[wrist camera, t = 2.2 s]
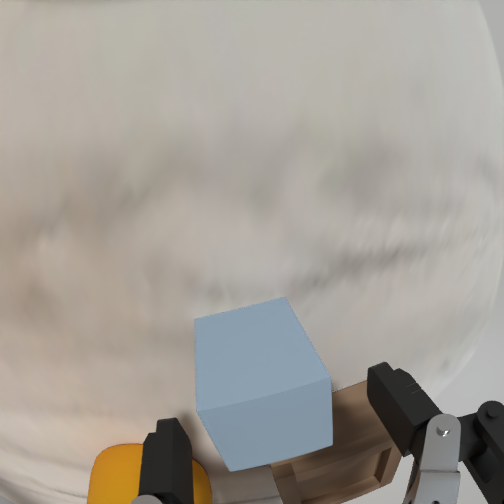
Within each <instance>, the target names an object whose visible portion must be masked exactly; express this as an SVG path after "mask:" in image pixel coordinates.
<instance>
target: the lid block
mask: <svg viewBox="0 0 504 504" xmlns="http://www.w3.org/2000/svg"><path fill="white" fill-rule="evenodd" d="M195 383H196V411H197V413H198V415H199V417H200V419H201V421H202V423H203V425H204V427H205V429H206V430H207V432H208V434H209V436H210V438H211V440H212V442H213V443H214V445H215V447H216V449H217V450H218V452H219V454H220V456H221V457H222V459H223V461H224V463H225V464H226V466H227V468H228V469H229V471H230V472H232V471H238V470H243V469H248V468H253V467H257V466H262V465H266V464H270V463H274V462H278V461H282V460H286V459H289V458H293V457H297V456H300V455H303V454H307V453H310V452H313V451H316V450H319V449H322V448H325V447H328V446H331V445H333V425H332V391H331V376H330V374H329V373H328V371H327V369H326V367H325V366H324V364H323V362H322V360H321V358H320V357H319V355H318V353H317V351H316V350H315V348H314V346H313V344H312V343H311V341H310V339H309V337H308V336H307V334H306V332H305V330H304V329H303V327H302V325H301V323H300V322H299V320H298V318H297V316H296V315H295V313H294V311H293V309H292V308H291V306H290V304H289V302H288V301H287V299H286V297H282V298H278V299H275V300H271V301H267V302H263V303H259V304H255V305H251V306H247V307H243V308H239V309H235V310H231V311H227V312H223V313H219V314H214V315H210V316H206V317H201V318H197V319H195Z"/></svg>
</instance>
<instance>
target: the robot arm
mask: <svg viewBox="0 0 504 504" xmlns="http://www.w3.org/2000/svg"><path fill="white" fill-rule="evenodd" d="M367 397H368V400H369V403H370V405H371V406H372V408H373V409H374V411H375V413H376V414H377V416H378V417H379V419H380V420H381V422H382V424H383V425H384V427H385V428H386V430H387V432H388V433H389V435H390V436H391V438H392V440H393V441H394V443H395V444H396V446H397V448H398V449H399V451H400V453H401V454H402V456H403V457H406V456H408V455H410V454H412V455H413V457H414V458H415V459H414V462H413V467H412V471H411V475H410V479H409V483H408V487H407V491H406V495H405V498H404V501H403V503H402V504H456V503H457V497H458V491H459V485H460V472H459V471H458V470H457V466H458V462H460V461H463V463H464V464H465V466H466V467H467V469H468V471H469V472H470V474H471V475H472V477H473V479H474V480H475V482H476V484H477V485H478V487H479V489H480V490H481V492H482V494H483V495H484V497H485V498H486V500H487V502H488V504H504V405H502V404H501V403H500V402H497V401H487V402H485V403H483V404H482V405H481V406H480V408H479V409H478V411H477V412H476V413H473V414H469V415H466V416H463V417H455V416H453V415H450V414H443V413H442V412H441V411H440V410H439V408H438V407H437V406H436V405H435V404H434V402H433V401H432V400H431V399H430V398H429V396H428V395H427V394H426V393H425V392H424V390H423V389H421V387H420V386H419V384H418V383H416V381H415V380H414V379H413V377H412V376H411V375H410V374H409V373H407V372H405V371H404V370H402V369H400V368H398V369H396V370H393V369H392V368H391V367H390V366H389V364H388V363H387V362H382V363H380V364H377V365H375V366H372V367H370V368H368V376H367ZM142 454H143V455H142V460H141V462H142V464H141V470H140V480H139V492H138V496H137V497H136V498H135V499H133V500H132V501H131V503H130V504H194V489H193V466H192V447H191V443H190V440H189V438H188V436H187V434H186V433H185V431H184V429H183V428H182V426H181V424H180V423H179V421H178V419H177V418H169V419H161V420H158V421H157V427H156V432H154V433H149V434H148V436H147V438H146V439H145V441H144V443H143V451H142Z"/></svg>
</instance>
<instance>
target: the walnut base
mask: <svg viewBox="0 0 504 504" xmlns="http://www.w3.org/2000/svg"><path fill="white" fill-rule="evenodd" d="M332 425H333V445H331V446H328V447H325V448H322V449H319V450H316V451H313V452H310V453H307V454H303V455H300V456H297V457H293V458H289V459H286V460H282V461H278V462H274V463H270V465H271V469H272V473H273V476H274V480H275V483H276V485H277V488H278V491H279V493H280V496H281V499H282V501H283V504H341V503H343V502H346V501H349V500H352V499H354V498H357V497H359V496H362V495H364V494H367V493H369V492H371V491H374V490H376V489H378V488H381V487H383V486H385V485H387V484H389V483H391V482H392V480H393V477H394V475H395V472H396V470H397V467H398V465H399V462H400V460H401V457H402V454H401V453H400V451H399V449H398V448H397V446H396V444H395V443H394V441H393V440H392V438H391V436H390V435H389V433H388V432H387V430H386V428H385V427H384V425H383V424H382V422H381V420H380V419H379V417H378V416H377V414H376V413H375V411H374V409H373V408H372V406H371V405H370V403H369V400H368V397H367V380H366V381H364V382H361V383H358V384H356V385H353V386H350V387H348V388H345V389H342V390H339V391H337V392H334V393H332Z"/></svg>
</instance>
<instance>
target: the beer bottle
mask: <svg viewBox="0 0 504 504" xmlns="http://www.w3.org/2000/svg"><path fill="white" fill-rule="evenodd" d="M142 451H143V444H123V445H116V446H113V447H109V448H107V449H105V450H104V451H102V452H101V453H100V454H99V455H98V456H97V458H96V460H95V462H94V465H93V468H92V471H91V476H90V483H89V491H88V499H87V504H130V503H131V501H132V500H133V499H135V498H136V497H137V496H138V492H139V480H140V470H141V464H142V462H141V460H142V455H143V454H142ZM192 466H193V489H194V504H212V491H211V486H210V482H209V479H208V476H207V473H206V472H205V470H204V469H203V468H202V466H201V465H200V464H198V463H197V462H196V461H195V460H193V459H192Z"/></svg>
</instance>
